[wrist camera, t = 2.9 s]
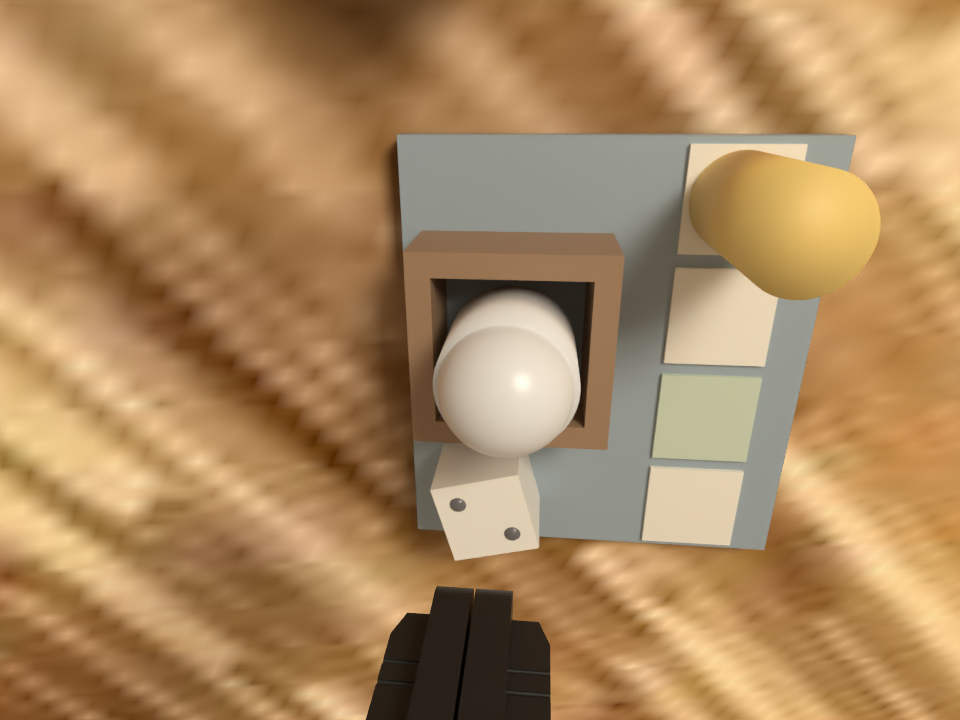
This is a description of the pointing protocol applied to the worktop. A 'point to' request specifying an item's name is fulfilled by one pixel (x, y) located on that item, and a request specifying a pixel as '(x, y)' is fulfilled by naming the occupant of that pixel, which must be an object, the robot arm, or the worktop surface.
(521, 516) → the die
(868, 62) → the worktop surface
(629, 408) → the board
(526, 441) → the white rounded egg-shaped piece
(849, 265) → the yellow rounded oblong piece
